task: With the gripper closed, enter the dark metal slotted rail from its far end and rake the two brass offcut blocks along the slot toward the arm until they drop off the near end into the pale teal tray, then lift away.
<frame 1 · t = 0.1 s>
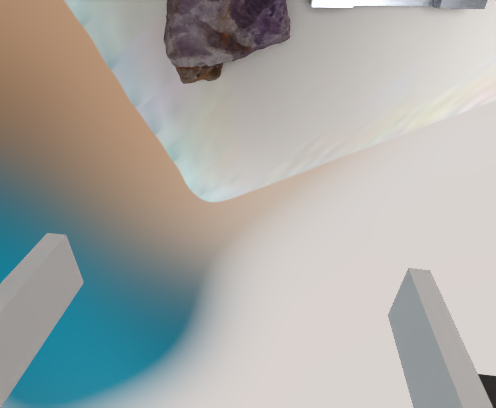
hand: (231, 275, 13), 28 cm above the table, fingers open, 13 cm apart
rock: (226, 14, 33), on the table
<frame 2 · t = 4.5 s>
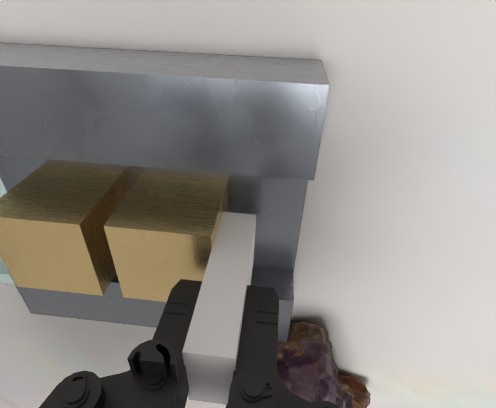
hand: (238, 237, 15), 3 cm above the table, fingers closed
brass block 1: (188, 210, 17), point 1 cm above the table, touching gripper, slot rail
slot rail: (159, 191, 18), on the table
rock: (294, 359, 26), on the table
brass block 2: (92, 202, 17), point 1 cm above the table, touching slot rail
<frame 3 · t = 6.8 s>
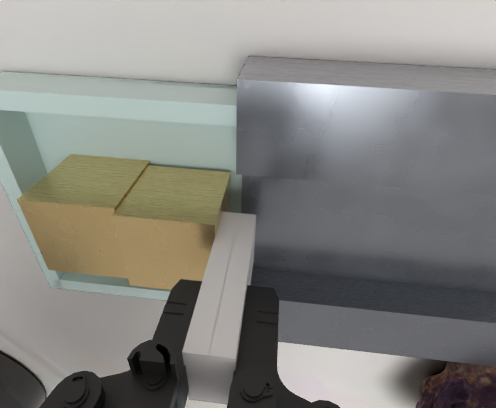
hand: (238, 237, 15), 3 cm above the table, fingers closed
brass block 1: (191, 202, 17), point 1 cm above the table, touching gripper
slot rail: (390, 211, 17), on the table
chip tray: (143, 190, 18), on the table
rock: (457, 378, 25), on the table
brass block 2: (117, 191, 18), resting on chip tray
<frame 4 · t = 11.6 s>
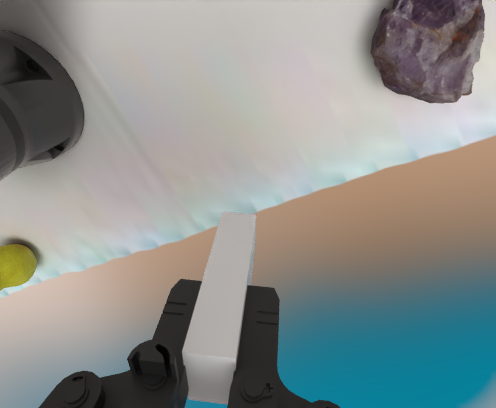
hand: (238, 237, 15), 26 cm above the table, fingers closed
fruit: (25, 249, 57), on the table
rock: (413, 35, 33), on the table
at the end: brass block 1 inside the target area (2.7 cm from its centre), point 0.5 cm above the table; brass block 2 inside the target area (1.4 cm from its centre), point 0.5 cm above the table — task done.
